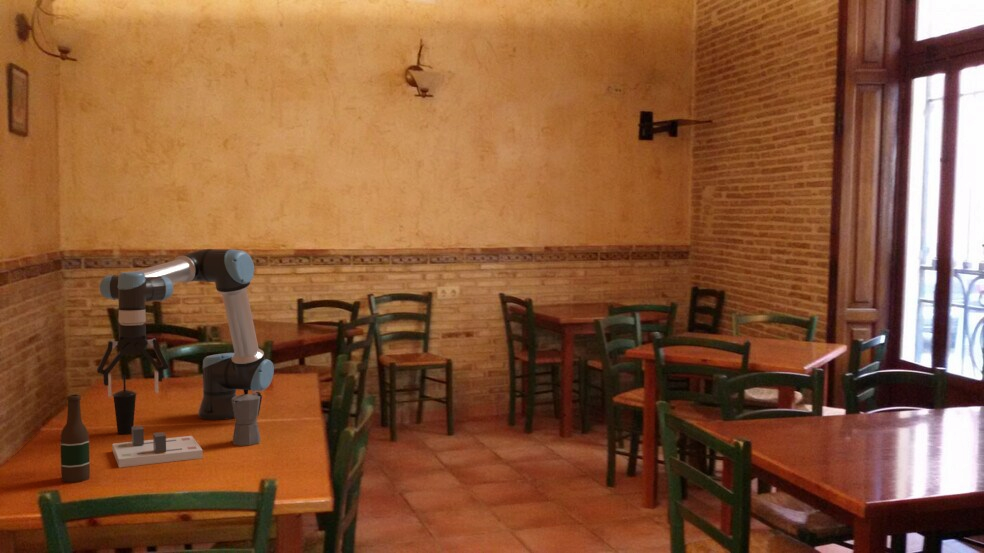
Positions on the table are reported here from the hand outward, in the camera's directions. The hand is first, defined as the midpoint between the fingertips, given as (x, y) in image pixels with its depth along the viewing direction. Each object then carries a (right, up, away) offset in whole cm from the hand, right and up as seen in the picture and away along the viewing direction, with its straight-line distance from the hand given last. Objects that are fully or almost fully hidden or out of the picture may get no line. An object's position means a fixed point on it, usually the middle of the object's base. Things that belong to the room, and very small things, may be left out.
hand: (133, 394), depth 271 cm
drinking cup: (-18, -18, +37) cm, 45 cm away
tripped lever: (+6, -18, +4) cm, 19 cm away
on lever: (-4, -17, +13) cm, 22 cm away
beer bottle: (-10, -22, -16) cm, 29 cm away
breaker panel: (+4, -20, +10) cm, 23 cm away
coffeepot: (+27, -19, +27) cm, 43 cm away
